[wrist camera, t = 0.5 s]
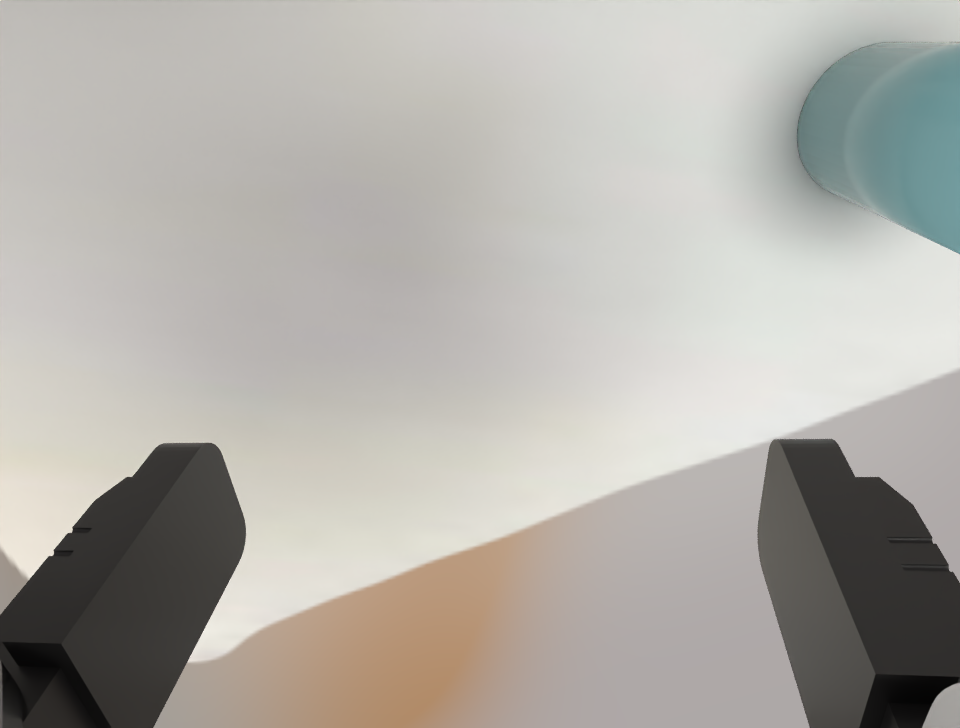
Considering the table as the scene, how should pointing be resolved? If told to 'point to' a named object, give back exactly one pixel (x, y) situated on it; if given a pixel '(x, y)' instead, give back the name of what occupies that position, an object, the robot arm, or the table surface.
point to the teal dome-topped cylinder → (890, 135)
